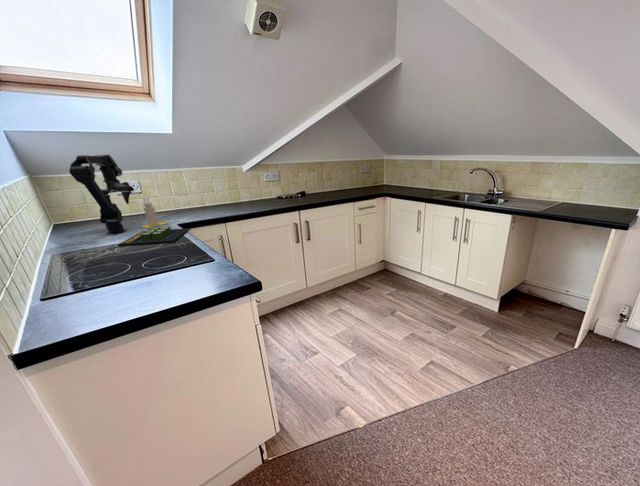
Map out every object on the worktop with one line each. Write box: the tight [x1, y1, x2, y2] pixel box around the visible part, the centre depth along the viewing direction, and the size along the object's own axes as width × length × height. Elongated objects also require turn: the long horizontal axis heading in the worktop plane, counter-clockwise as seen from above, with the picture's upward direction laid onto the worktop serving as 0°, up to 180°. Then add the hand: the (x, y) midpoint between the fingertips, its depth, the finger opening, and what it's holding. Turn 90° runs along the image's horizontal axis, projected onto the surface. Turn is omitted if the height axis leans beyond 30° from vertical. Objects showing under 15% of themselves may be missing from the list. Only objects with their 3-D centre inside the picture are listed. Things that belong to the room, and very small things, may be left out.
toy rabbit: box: [142, 197, 160, 226], centre depth 181 cm, size 5×5×17 cm
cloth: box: [140, 221, 169, 229], centre depth 185 cm, size 12×8×1 cm, turn 154°
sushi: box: [117, 226, 191, 247], centre depth 160 cm, size 25×25×4 cm
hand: (119, 205), depth 179 cm, fingers open, 9 cm apart
